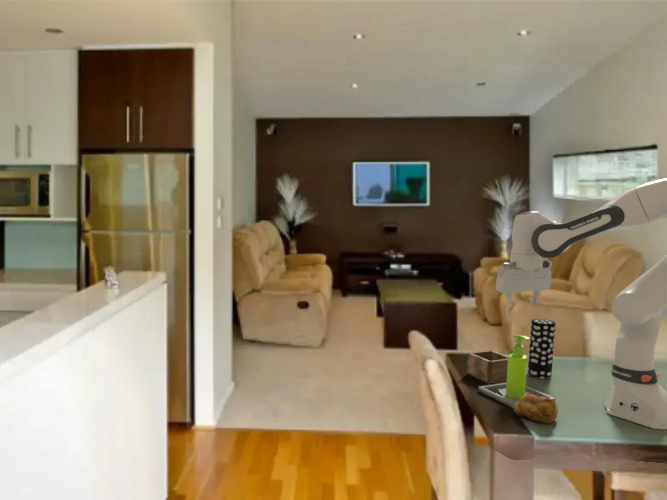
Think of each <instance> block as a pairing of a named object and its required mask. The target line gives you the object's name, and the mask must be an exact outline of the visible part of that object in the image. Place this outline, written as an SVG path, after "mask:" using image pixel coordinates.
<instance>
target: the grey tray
mask: <svg viewBox="0 0 667 500" xmlns="http://www.w3.org/2000/svg"><path fill="white" fill-rule="evenodd" d="M506 383H507V382H502V383H495V384H487V385H486V384H485V385H481V386H479V385H478V389H480V390H482V391H484V392H486V393H488V394H490V395H492V396H494V397H496V398H498V399H499V400H501V401H503V402H505V403H507V404H509V405H510V406H511V407H513V406H514V404H516V403H517V402H520V399H521V398H511V397H508V396H507V395H506ZM491 388H498V390H499V392H500V393H501V394H502V395H503V396H501V395H499V394H497V393H494V392H492V391H490V390H488V389H491ZM526 394H533V395H535V396H536V397H547V398H549V399H552V400H554V401H555V402H556V398H555V397H553V396H551V395H549V394H547V393H544V392H542V391H540V390H537V389H535V388H532V387H530V386H527V385H525V395H526ZM511 407H510V408H511Z"/></svg>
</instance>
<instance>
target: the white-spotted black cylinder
mask: <svg viewBox="0 0 667 500" xmlns="http://www.w3.org/2000/svg"><path fill="white" fill-rule="evenodd" d="M555 333H556V322H555V321H553V320H550V319H543V318H534V319H533V318H532V319H531V320H530V335H529V338H531V340H529V348H528V349H529V350H528V360H527V375H528V376H529V377H532V378H535V379H545V380H546V379H547V380H548V379H551V378H552V377H553V375H552V372H553V363H554V361H553V359H554V345H555Z"/></svg>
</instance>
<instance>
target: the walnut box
mask: <svg viewBox="0 0 667 500" xmlns="http://www.w3.org/2000/svg"><path fill="white" fill-rule="evenodd" d="M507 367H508V355H505V354H502V353H500V352H497V351H496V350H495V351H494V350H492V349H490V350H482V351H480V350H479V351H473V352H472V351H471V352H467V358H466V373H467V372H468V373H471V374H472V375H475V376H477V377H479V378H481V379H483V380H485V381H488V382H494V383H495V384H501V383H507Z"/></svg>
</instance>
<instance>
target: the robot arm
mask: <svg viewBox="0 0 667 500" xmlns="http://www.w3.org/2000/svg"><path fill="white" fill-rule="evenodd" d="M662 218H663V219H664V218H667V177H666V178H661V179H657V180H653V181H650V182H649V181H648V182H646V183H643V184H641V185H638V186H635V187H633V188H631V189H630V188H629V189H628V190H627V191H624V192H623V193H620V194H619V195H617V196H615V197H614V198H612V199H611V200H609V201H607V202H606V203H605V204H604V205H602V206H601V207H599V208H598V209H596V210H594V211H593V212H590V213H587V214H585V215H582V216H580V217H577V218H575V219H572V220H569V221H566V222H563V223H560V222H558V221H555V220H552V219H550V218H549V217H547V216H545V215H543V213H542V212H540V211H537V210H533V211H532V210H531V211H525V212H520V213H518V214H517V215H516V216H515V217H514V220H513V223H512V231H511V232H512V233H511V241H512V246H511V250H510V260H509V261H510V262H503V263H502V264H500V266H499V267H498V270H497V271H498V272H497V275H496V280H495V289H496V291H497V292H499V293H503V294H504V297H505V298H506V303H507V304H506V305H507V306H508V307H515V306H516V305H515V303H516V301H515V300H513V296H514V293H522V292H523V293H524V292H525V293H526V292H527V293H528V292H532V293H533V295H532V297H531V298H529V304H530V305H532V306H533V305H537V304H538V299H539V297H540V296H541V294H542V291H549V289H550V288H551V285H552V271H551V268H552V267H553V266H552V261H550V260H548V259H552V258H555V257H559V256H560V255H561V254H563V253H565V252H566V251H568V250H569V249H570V248H571V246H572V245H573V244H575V243H576V242H577V243H578V242H580V241H582V240H586V239H587V238H590V237H593V236H595V235H598V234H601V233H606V232H610V231H619V230H628V229H633V228H637V227H641V226H646V225H648V224H650V223H653V222H656V221H659V220H661V219H662ZM545 258H546V259H545ZM611 305H612V308H611V309H612V313H613V316H614V317H615V318H616V320H617V321H618V322H620V326H619V329H618V332H617V335H616V338H615V345H614V347H615V348H614V359H613V363H612V365H611V377H612V378H611V384H610V388H609V393H608V396H607V399H606V401H605V403H604V407H605V409H606V414H608V415H611V416H613V417H617V418H620V419H623V420H627V421H628V422H633V423H634V424H635V423H636V424H639V425H641V426H644V427H647V428H651V429H653V430H667V391H666V390H665V389H664V388H663V386H661V385H660V383H659V379H660V378H662V373H658V374H657V372H656V370H655V367H654V364H655V355H656V346H657V340H658V335H659V332H660V328H661V322H662V316H663V311H664V308H666V307H667V254H665V255H664V256H663V257H662V258H661V259H660V260H659V261H658V262H657V263H655V264H654V265H653V266H651V268H649V269H648V270H646V271H645V272H644V273H643V274H642V275H640V276H639V277H637V278H636V279H635V280H633V281H632V282H631V283H630V284H629V285H627V286H626V287H625V288H624V289H623V290H621V291H620V292H619V293H618V294H617V295H616V296H615V298H614V299H613V301H612V304H611Z"/></svg>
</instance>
